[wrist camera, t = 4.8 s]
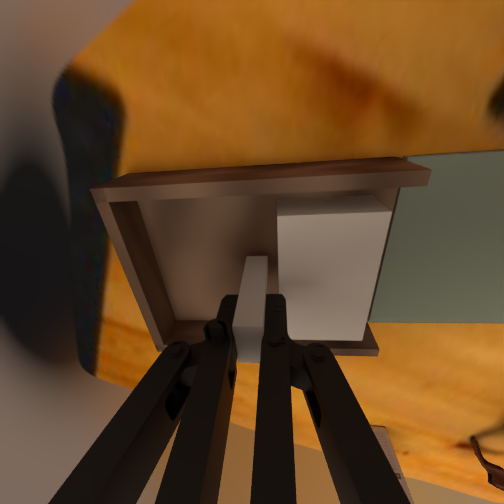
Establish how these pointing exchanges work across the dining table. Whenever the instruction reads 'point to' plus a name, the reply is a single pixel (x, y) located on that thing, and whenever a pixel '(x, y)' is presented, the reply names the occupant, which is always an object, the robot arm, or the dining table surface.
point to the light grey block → (329, 263)
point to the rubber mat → (446, 244)
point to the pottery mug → (490, 468)
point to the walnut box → (224, 233)
